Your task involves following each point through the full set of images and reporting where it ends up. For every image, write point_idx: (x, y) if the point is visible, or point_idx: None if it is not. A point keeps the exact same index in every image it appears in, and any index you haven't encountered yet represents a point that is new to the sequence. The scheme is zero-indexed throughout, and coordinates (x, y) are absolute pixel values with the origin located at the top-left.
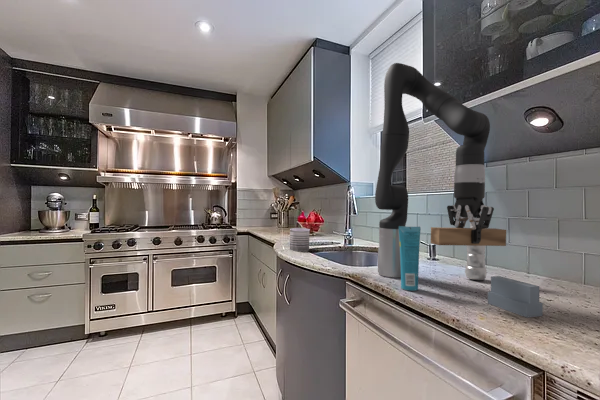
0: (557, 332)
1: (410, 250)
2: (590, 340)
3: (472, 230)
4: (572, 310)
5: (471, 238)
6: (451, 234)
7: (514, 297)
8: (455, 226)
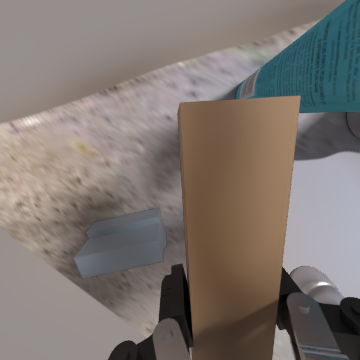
0: (41, 221)
1: (308, 58)
2: (22, 240)
3: (177, 312)
4: (133, 304)
5: (182, 276)
6: (183, 191)
7: (113, 234)
8: (305, 297)
